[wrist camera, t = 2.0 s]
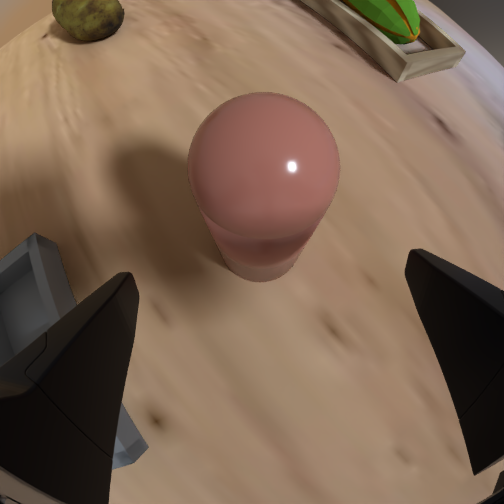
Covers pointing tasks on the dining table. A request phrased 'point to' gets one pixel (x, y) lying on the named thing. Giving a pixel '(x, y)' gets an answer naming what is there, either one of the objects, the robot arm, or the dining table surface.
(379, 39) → the frame
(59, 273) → the gray compartment tray
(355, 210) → the dining table surface
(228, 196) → the pink dome-topped cylinder
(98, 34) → the potato
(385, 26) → the corn
